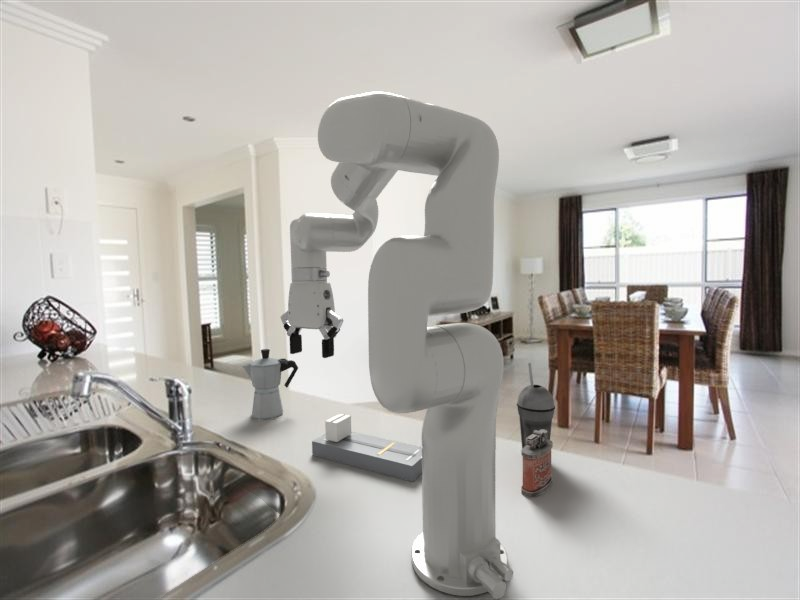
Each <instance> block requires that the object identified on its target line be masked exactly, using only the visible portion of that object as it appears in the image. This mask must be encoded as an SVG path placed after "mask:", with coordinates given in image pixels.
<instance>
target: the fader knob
mask: <svg viewBox="0 0 800 600" xmlns="http://www.w3.org/2000/svg"><path fill="white" fill-rule="evenodd" d="M324 422H325V423H324V425H325V426H324V427H325V434H326V440H330V441H335V442H338V441H340V440H341V439H343V438H345V437H347V436H348V435H350V434H351V432H352V416H351V415H349V414H345V413H344V414H343V413H338V414H337V415H334V416H332V417H330V418H329V419H326V420H325V421H324Z"/></svg>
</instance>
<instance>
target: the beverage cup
mask: <svg viewBox="0 0 800 600" xmlns="http://www.w3.org/2000/svg"><path fill="white" fill-rule="evenodd" d="M527 365H528V373H529V381H530V382H529V383H530V385H527V386H525V387H524V388H523V389H521V391H520V392H519V395H518V398H517V402H516V406H517V412H518V413H517V414H518V416H519V417H518V418H519V429H520V439H521V450H522V449H523V448H524V447H525V446H526V438H527V437H529V436H530V435H532V434H533V431H534V430H537V431H539V430H541V429H544V430H547V439H548V440H551V434H552V424H553V422H552V421H553V419H554V414H555V409H556V406H555V400H554V397H553V395H552V393H551V392H550V391H549V390H548V389H547V388H546V387H544V386H542V385H539V384H534V380H533V371H532V370H533V369H532V363H531V362H528V364H527Z"/></svg>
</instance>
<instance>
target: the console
mask: <svg viewBox="0 0 800 600" xmlns="http://www.w3.org/2000/svg"><path fill="white" fill-rule="evenodd" d="M311 450H312V451H311V453H312V456H315V457H319V458H321V459H322V458H323V459H326V460H330V461H334V462H337V463H342V464H343V465H345V464H346V465H348V466H352V467H356V468H360V469H364V470H367V471H371V472H375V473H378V474H381V475H385V476H389V477H393V478H396V479H402V480H404V481H408V482H414V481H416V479H417V478H419V476H420V475H422V446H418V445H413V444H409V443H405V442H400V441H397V440H396V441H395V440H391V439H386V438H381V437H378V436H372V435H368V434H363V433H359V432H355V431H351V434H350V435H348V436H347V437H345V438H343V439H341V440H340V441H338V442H335V441H330V440H326V433H324V434H323V435H321V436H319V437H317V438H315V439H313V440H311Z"/></svg>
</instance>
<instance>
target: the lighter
mask: <svg viewBox="0 0 800 600" xmlns="http://www.w3.org/2000/svg"><path fill="white" fill-rule="evenodd" d="M553 444H554V443H553V441H552V440H551V439H550V440H548V439H547V430H544V429H541V430H539V431H537V430H534V431H533V434H532V435H530V436H529V437H527V438H526V446H525V447H524V448H523V449H522V448H521V450H520V451H521V457H522V485H521V487H520V489H521V490H520V491H521V495H522V496H525V497H527V498H536V497H538V496H540V495H543V494H544V493H545V492H547V491H548V490H549V489H550V488H551V487H552V485H553V476H552V448H553V446H554V445H553Z"/></svg>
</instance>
